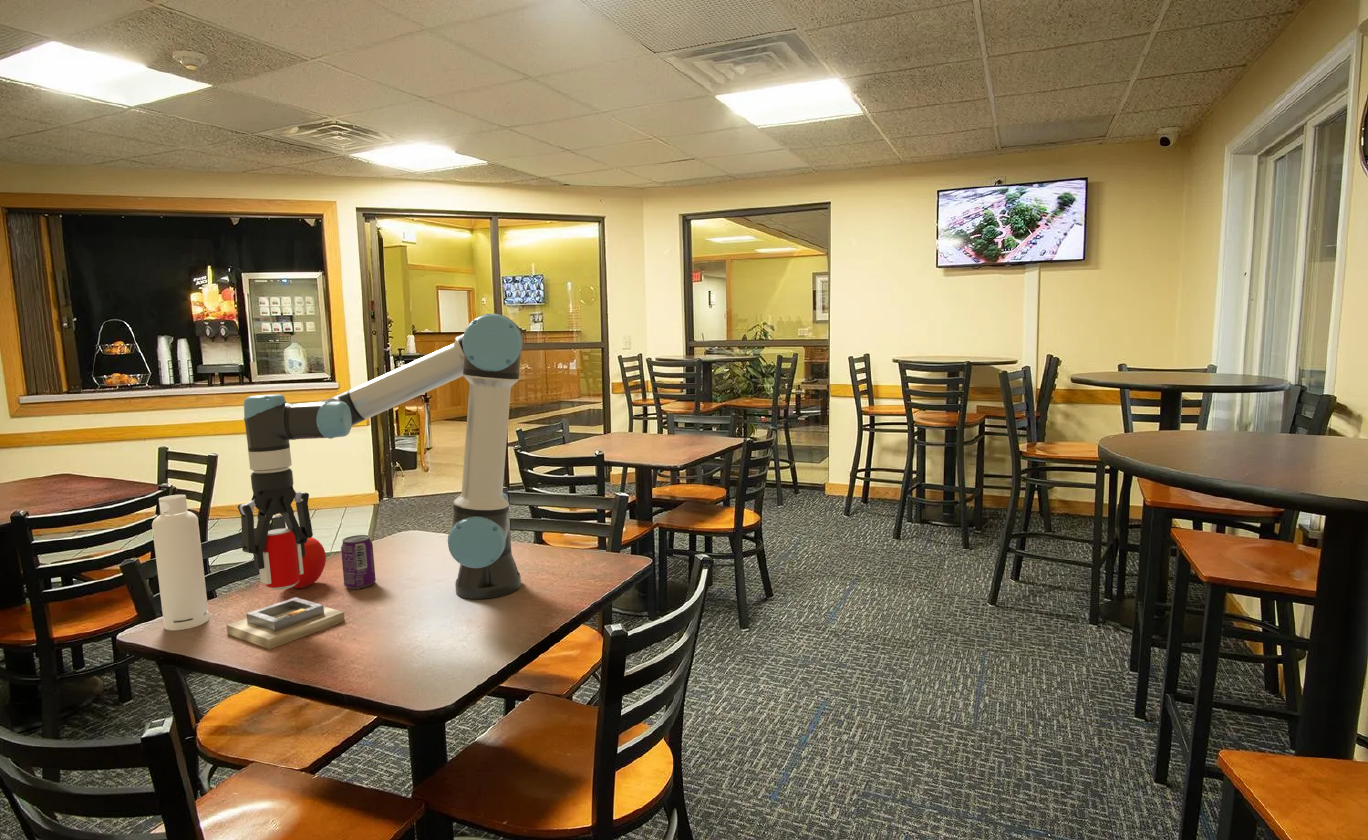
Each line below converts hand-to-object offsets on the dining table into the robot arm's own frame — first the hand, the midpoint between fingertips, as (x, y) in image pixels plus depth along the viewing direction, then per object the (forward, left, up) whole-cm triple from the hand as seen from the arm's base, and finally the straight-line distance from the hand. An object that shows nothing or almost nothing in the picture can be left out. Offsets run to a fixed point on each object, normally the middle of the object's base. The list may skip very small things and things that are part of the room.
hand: (282, 577), depth 152 cm
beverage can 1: (0, 0, -2) cm, 2 cm away
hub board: (0, 0, -11) cm, 11 cm away
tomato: (+23, -17, -11) cm, 31 cm away
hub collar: (0, 0, -9) cm, 9 cm away
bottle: (+23, +9, -11) cm, 27 cm away
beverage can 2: (+10, -24, -11) cm, 28 cm away
